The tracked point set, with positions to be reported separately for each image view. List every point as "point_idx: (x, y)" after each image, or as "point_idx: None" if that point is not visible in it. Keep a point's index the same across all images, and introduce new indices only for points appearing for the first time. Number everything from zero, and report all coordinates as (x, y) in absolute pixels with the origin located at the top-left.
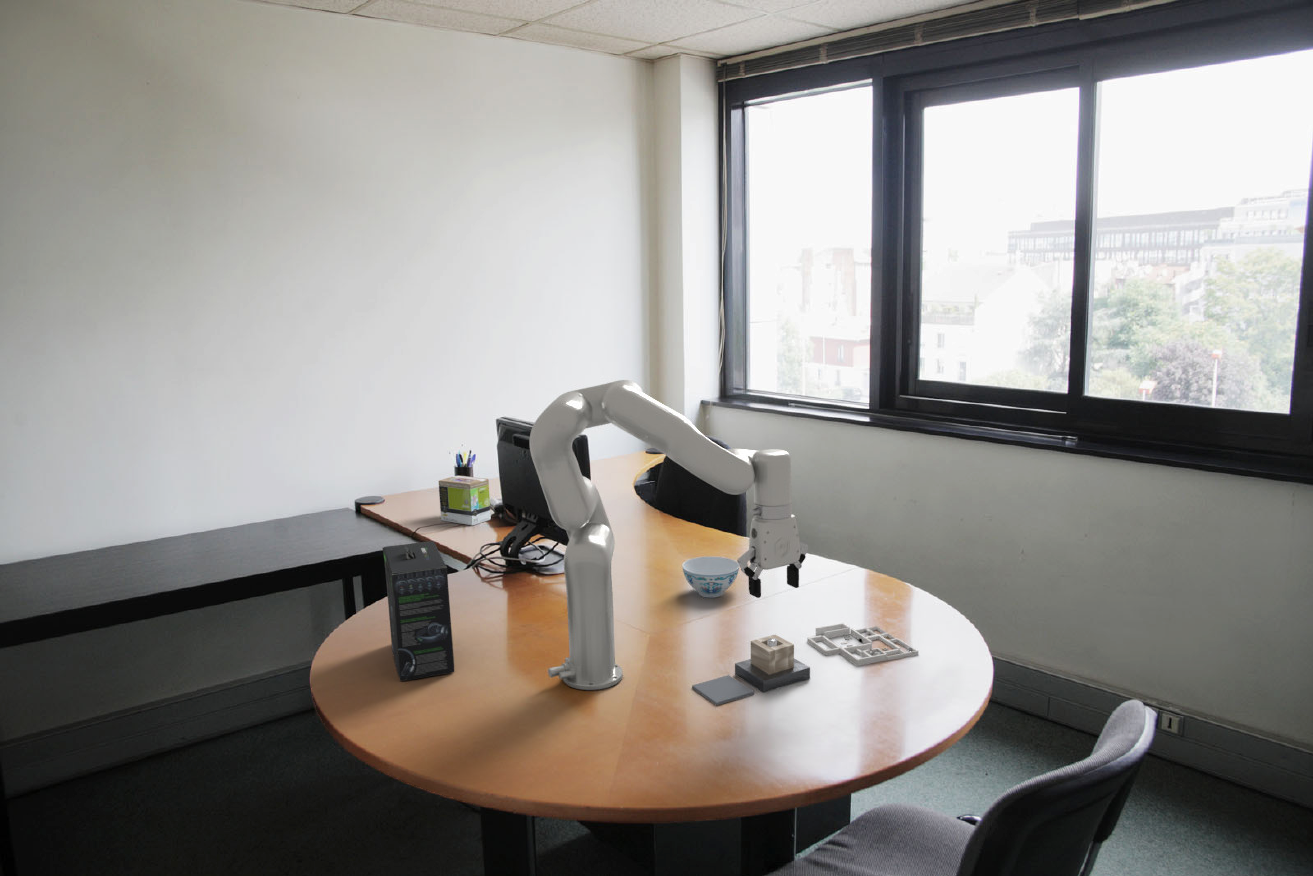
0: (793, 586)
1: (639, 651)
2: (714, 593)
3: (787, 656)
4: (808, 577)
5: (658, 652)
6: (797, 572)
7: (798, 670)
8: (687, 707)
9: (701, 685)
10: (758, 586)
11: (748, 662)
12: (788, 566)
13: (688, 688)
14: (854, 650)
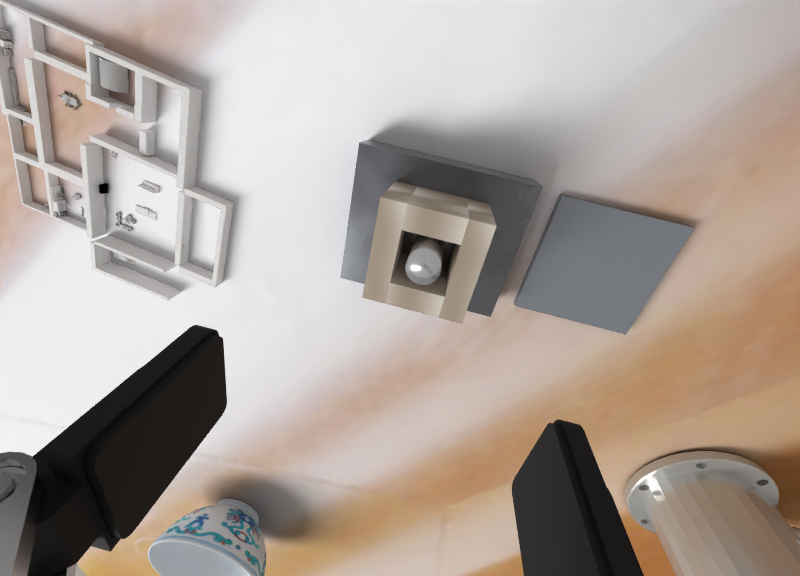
0: (221, 357)
1: None
2: (241, 510)
3: (414, 196)
4: (45, 438)
5: (502, 464)
6: (91, 427)
7: (403, 155)
8: (740, 276)
9: (612, 318)
10: (617, 522)
11: None
12: (103, 542)
13: (627, 335)
14: (152, 158)
